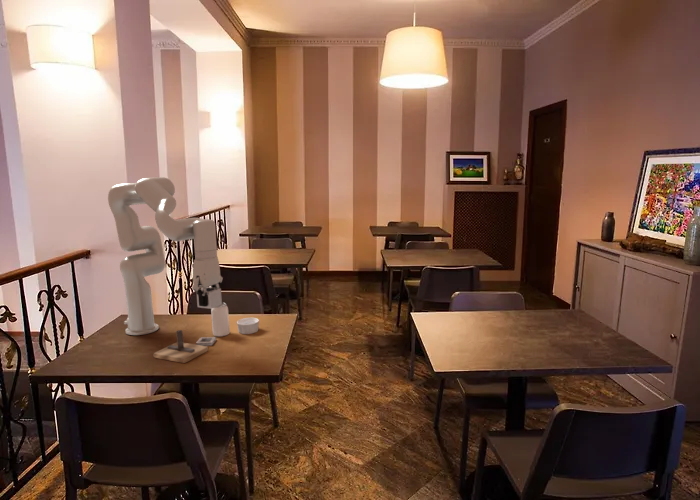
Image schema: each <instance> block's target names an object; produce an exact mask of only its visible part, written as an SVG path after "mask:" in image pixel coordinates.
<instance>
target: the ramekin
mask: <svg viewBox="0 0 700 500" xmlns="http://www.w3.org/2000/svg"><path fill="white" fill-rule="evenodd" d="M259 323H260V319H258V318H257V317H244V318H239V319H238V320H236V324H237V331H238V333H239V334H242V335H251V334H256V333H257V332H259Z"/></svg>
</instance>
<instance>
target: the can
mask: <svg viewBox="0 0 700 500" xmlns="http://www.w3.org/2000/svg"><path fill="white" fill-rule="evenodd" d="M210 313H211V326H212V327H211V328H212V335H213V337H216V338H217V337H220V338H221V337H226V336H228V335H229V334H230V331H231V330H230V317H229V307H228V305H227V303H226V302H222V304H221V305H219V306H217V307H214V308H212V309H210Z"/></svg>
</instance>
